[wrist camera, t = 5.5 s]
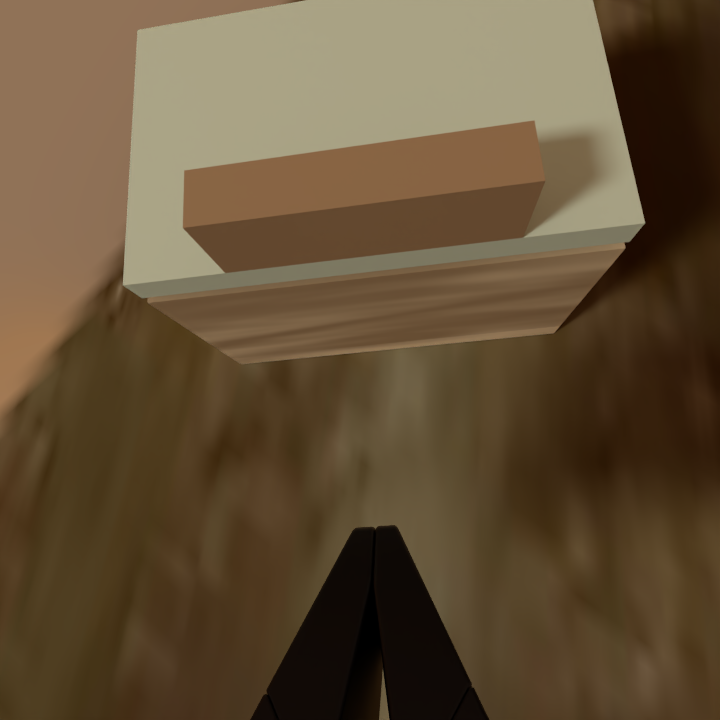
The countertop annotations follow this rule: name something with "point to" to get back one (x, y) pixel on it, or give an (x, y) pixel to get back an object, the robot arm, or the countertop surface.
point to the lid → (370, 141)
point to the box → (393, 306)
